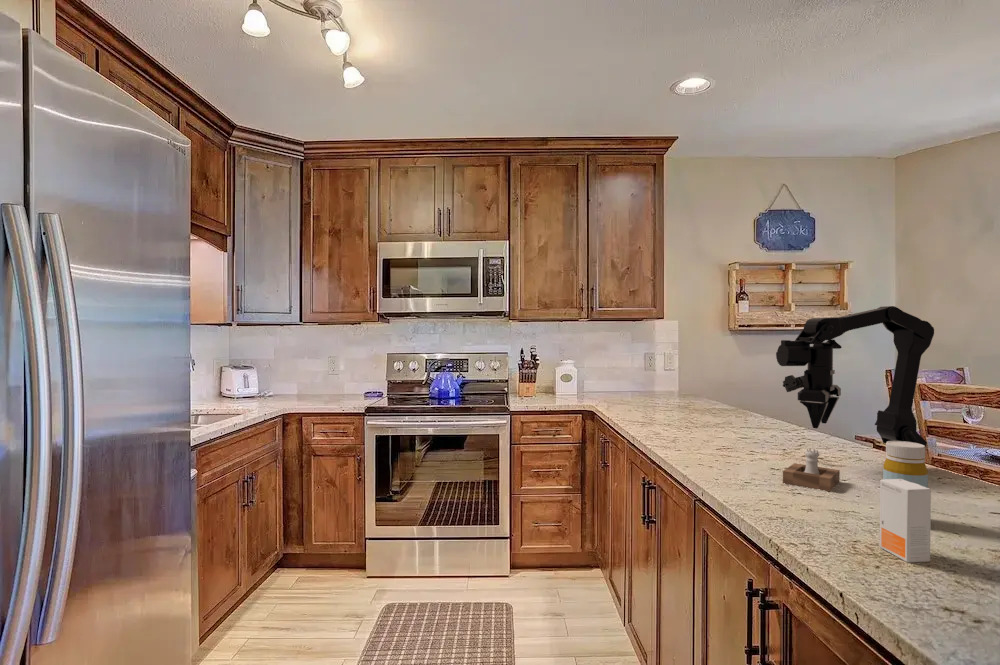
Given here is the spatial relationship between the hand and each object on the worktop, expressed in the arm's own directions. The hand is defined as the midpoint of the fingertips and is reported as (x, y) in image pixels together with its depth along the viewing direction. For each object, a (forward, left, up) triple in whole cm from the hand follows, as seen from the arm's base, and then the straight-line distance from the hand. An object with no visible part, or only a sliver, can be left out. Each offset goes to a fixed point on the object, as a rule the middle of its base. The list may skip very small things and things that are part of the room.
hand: (819, 425), depth 143 cm
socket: (+13, +1, -12) cm, 18 cm away
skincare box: (+49, +23, -12) cm, 55 cm away
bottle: (+29, +21, -12) cm, 38 cm away
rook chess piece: (+13, +1, -12) cm, 18 cm away
